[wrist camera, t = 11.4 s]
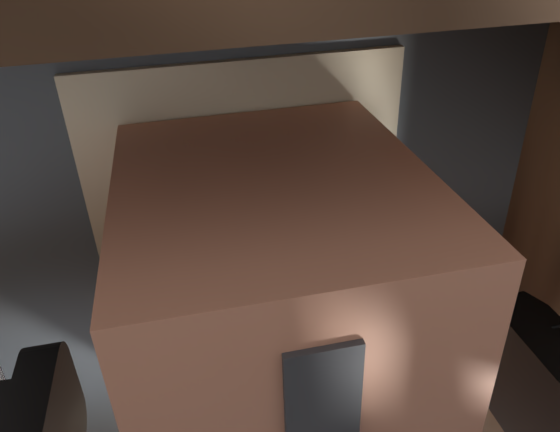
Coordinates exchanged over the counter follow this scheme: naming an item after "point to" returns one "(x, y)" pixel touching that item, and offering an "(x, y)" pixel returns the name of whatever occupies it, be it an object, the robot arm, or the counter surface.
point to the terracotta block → (294, 280)
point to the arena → (255, 97)
